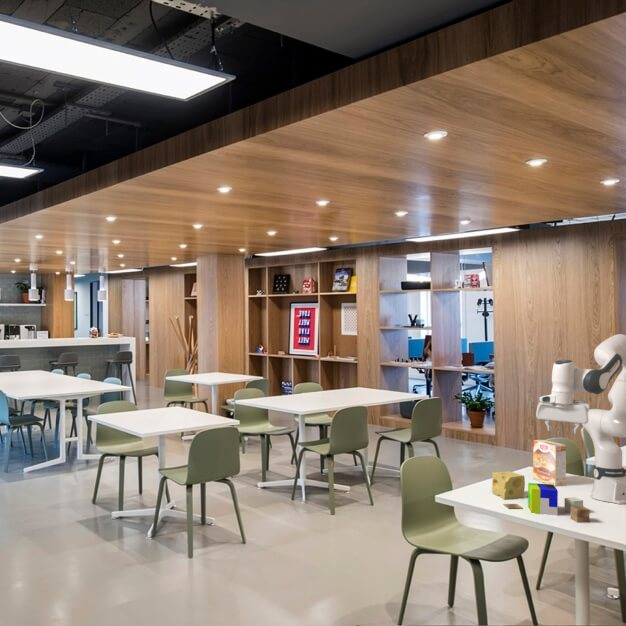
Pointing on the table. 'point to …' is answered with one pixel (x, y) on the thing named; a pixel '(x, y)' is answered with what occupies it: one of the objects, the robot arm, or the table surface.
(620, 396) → the robot arm
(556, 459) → the coffeecake box
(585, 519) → the walnut block
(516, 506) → the swatch tile
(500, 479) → the cheese
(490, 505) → the table surface
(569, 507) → the sage block
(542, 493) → the puzzle toy
